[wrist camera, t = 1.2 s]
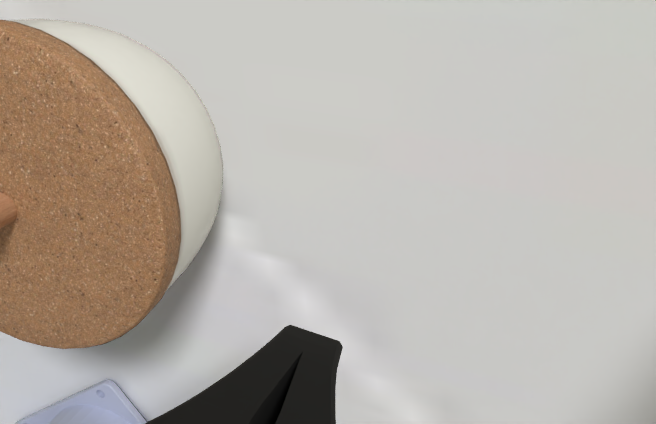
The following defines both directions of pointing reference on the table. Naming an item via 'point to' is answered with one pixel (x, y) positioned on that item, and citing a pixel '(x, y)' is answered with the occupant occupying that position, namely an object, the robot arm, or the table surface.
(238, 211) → the table surface
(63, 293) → the lidded jar
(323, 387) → the robot arm
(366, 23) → the table surface
